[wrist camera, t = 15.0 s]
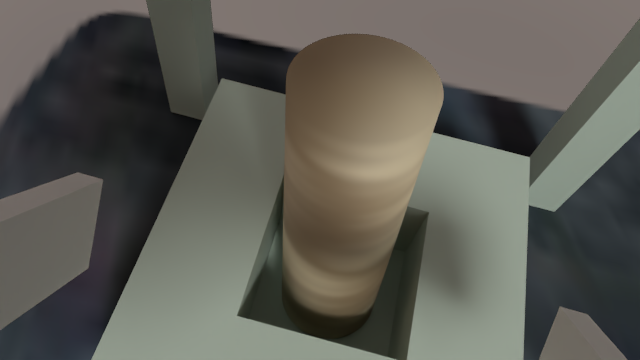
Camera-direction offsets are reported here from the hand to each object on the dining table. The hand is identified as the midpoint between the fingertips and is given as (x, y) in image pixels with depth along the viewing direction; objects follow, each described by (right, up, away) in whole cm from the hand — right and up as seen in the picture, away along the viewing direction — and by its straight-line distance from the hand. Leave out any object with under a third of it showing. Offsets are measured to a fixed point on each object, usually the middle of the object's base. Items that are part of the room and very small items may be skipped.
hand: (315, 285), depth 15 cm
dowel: (0, -2, +8) cm, 8 cm away
